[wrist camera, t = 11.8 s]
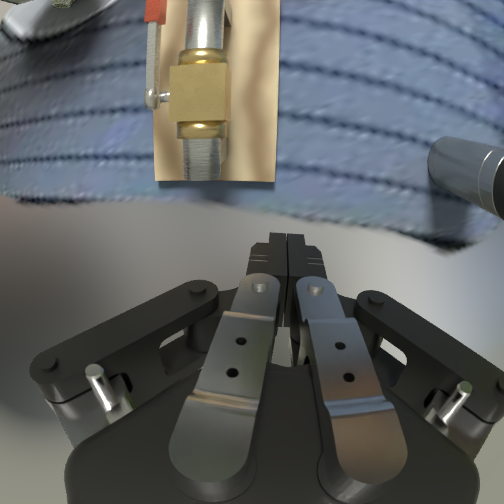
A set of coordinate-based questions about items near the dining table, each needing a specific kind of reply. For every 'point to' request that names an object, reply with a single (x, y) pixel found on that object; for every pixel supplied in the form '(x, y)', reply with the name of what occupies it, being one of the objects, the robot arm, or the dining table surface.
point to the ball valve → (59, 2)
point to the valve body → (202, 90)
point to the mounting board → (242, 92)
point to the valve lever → (154, 51)
